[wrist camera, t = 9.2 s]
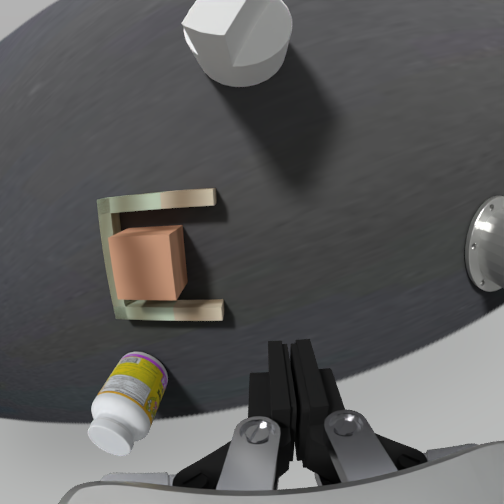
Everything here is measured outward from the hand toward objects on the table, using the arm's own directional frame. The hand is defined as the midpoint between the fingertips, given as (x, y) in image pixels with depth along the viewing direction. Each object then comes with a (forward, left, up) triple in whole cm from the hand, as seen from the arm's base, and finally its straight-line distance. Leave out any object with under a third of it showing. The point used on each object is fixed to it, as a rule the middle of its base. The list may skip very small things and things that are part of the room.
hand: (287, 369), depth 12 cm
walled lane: (+11, 0, -19) cm, 22 cm away
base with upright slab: (+2, -21, -19) cm, 29 cm away
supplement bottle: (+16, +15, -19) cm, 29 cm away
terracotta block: (+12, 0, -19) cm, 23 cm away
